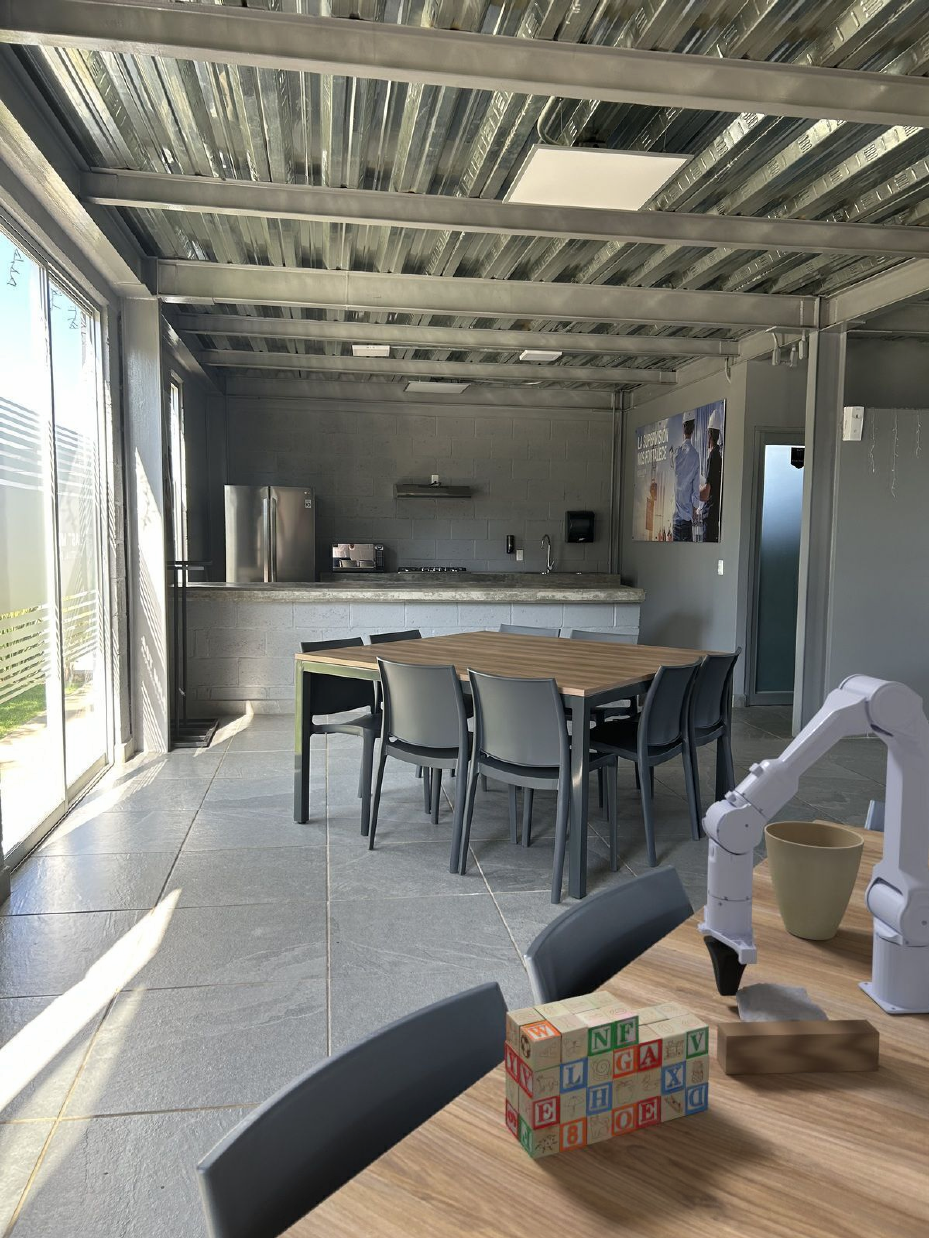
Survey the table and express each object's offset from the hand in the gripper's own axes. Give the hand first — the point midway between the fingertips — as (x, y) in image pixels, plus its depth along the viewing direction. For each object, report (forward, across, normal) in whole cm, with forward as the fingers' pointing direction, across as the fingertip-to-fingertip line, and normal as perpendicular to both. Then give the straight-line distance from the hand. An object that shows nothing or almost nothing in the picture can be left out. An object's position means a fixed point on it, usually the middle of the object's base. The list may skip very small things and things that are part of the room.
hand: (727, 993), depth 118 cm
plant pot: (+2, -23, +22) cm, 32 cm away
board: (+1, +15, +3) cm, 15 cm away
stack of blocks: (+2, +24, -21) cm, 32 cm away
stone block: (+2, +6, +4) cm, 8 cm away
